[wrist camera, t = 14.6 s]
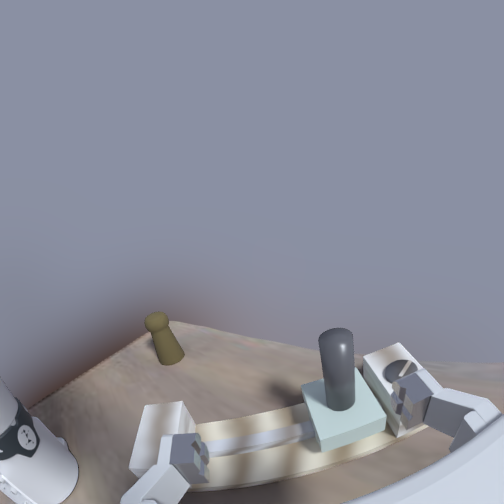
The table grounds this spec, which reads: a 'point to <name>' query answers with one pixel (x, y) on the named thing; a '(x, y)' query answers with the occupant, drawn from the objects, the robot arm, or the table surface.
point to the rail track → (279, 456)
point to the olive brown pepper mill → (163, 339)
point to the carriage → (341, 396)
